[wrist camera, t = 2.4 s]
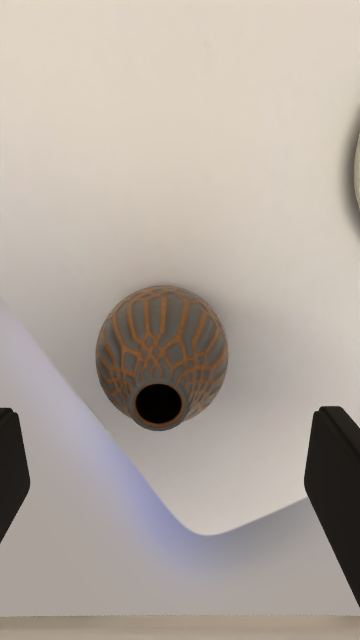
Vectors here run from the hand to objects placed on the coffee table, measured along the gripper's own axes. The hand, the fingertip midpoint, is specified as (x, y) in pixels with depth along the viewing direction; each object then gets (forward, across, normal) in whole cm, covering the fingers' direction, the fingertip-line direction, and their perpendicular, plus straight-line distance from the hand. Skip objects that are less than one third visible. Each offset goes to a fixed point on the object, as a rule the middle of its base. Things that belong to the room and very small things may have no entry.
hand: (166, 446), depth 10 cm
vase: (+11, 0, 0) cm, 11 cm away
